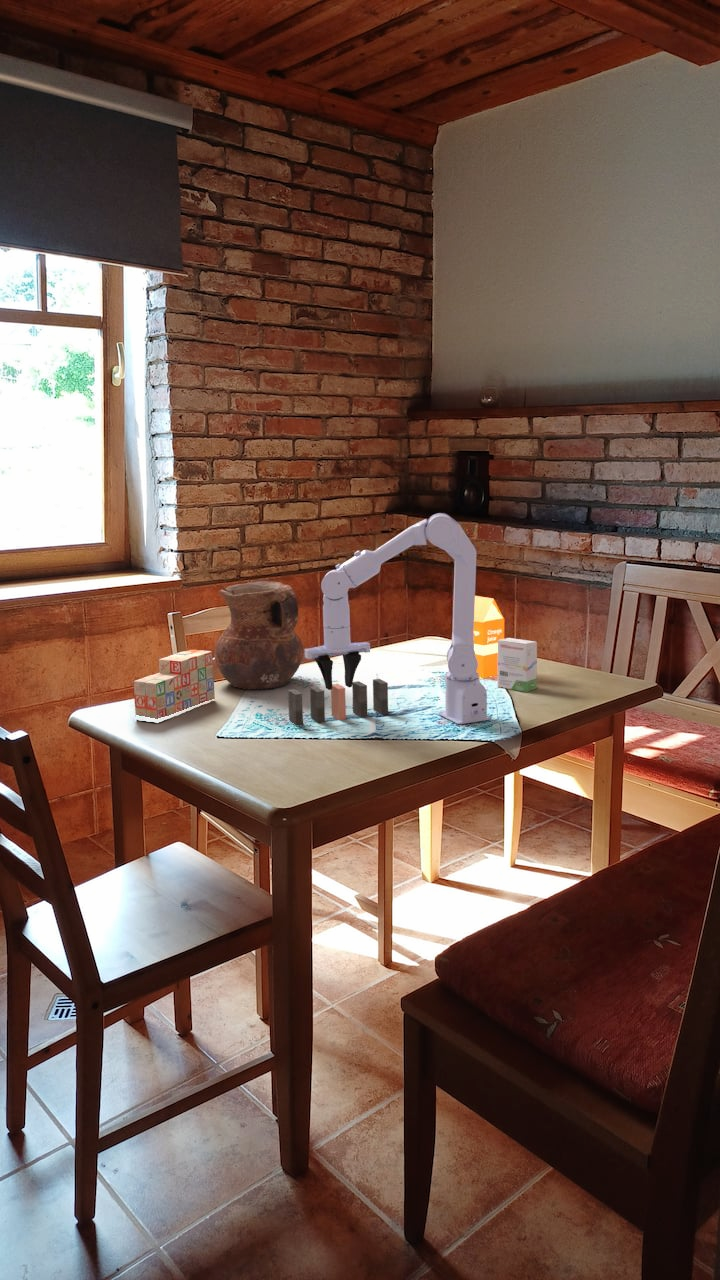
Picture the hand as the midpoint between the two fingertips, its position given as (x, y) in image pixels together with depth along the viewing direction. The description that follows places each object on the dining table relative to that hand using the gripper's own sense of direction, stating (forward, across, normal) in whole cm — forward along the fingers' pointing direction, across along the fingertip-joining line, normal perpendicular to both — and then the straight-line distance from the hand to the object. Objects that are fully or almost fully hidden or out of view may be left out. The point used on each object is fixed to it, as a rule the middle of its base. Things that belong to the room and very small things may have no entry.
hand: (338, 687), depth 213 cm
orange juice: (+7, -48, -21) cm, 53 cm away
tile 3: (+7, +5, 0) cm, 8 cm away
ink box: (+7, -48, -4) cm, 49 cm away
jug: (+7, +6, -38) cm, 39 cm away
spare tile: (+7, 0, 0) cm, 7 cm away
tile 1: (+7, -10, 0) cm, 12 cm away
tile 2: (+7, -5, 0) cm, 8 cm away
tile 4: (+7, +10, 0) cm, 12 cm away
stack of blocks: (+7, +31, -22) cm, 39 cm away
